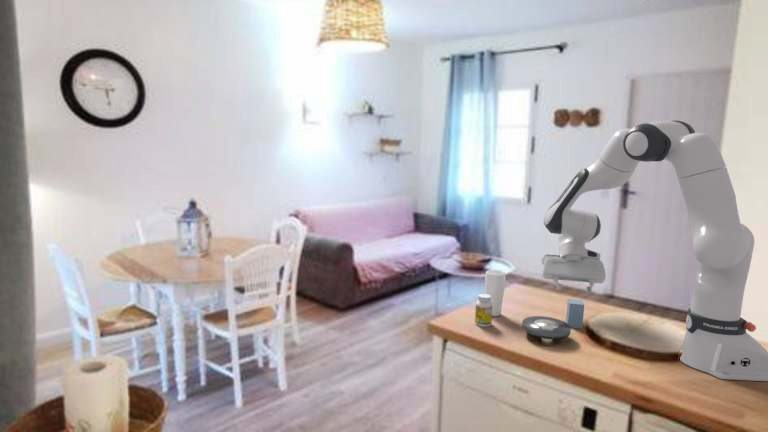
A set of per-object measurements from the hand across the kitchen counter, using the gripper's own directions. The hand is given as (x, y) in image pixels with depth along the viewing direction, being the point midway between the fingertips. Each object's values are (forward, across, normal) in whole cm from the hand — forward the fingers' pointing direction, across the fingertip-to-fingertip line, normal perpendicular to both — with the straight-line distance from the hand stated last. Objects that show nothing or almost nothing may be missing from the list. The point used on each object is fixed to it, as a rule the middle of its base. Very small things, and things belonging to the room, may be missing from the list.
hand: (574, 291), depth 156 cm
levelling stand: (+20, -10, -7) cm, 24 cm away
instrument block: (+11, 0, +2) cm, 12 cm away
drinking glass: (+10, -26, +4) cm, 28 cm away
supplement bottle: (+17, -29, -3) cm, 34 cm away
